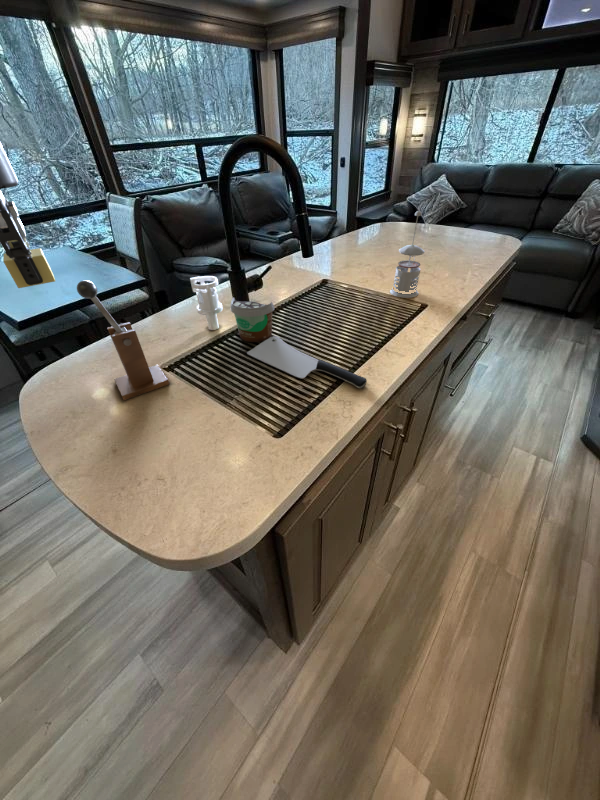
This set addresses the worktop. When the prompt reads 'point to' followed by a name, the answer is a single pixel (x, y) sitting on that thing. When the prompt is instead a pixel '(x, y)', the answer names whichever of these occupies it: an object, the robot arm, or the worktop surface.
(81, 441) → the worktop surface
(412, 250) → the french press
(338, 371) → the kitchen cleaver
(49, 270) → the butter
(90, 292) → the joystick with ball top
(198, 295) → the white plastic fitting
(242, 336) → the food container
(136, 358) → the wooden stand
